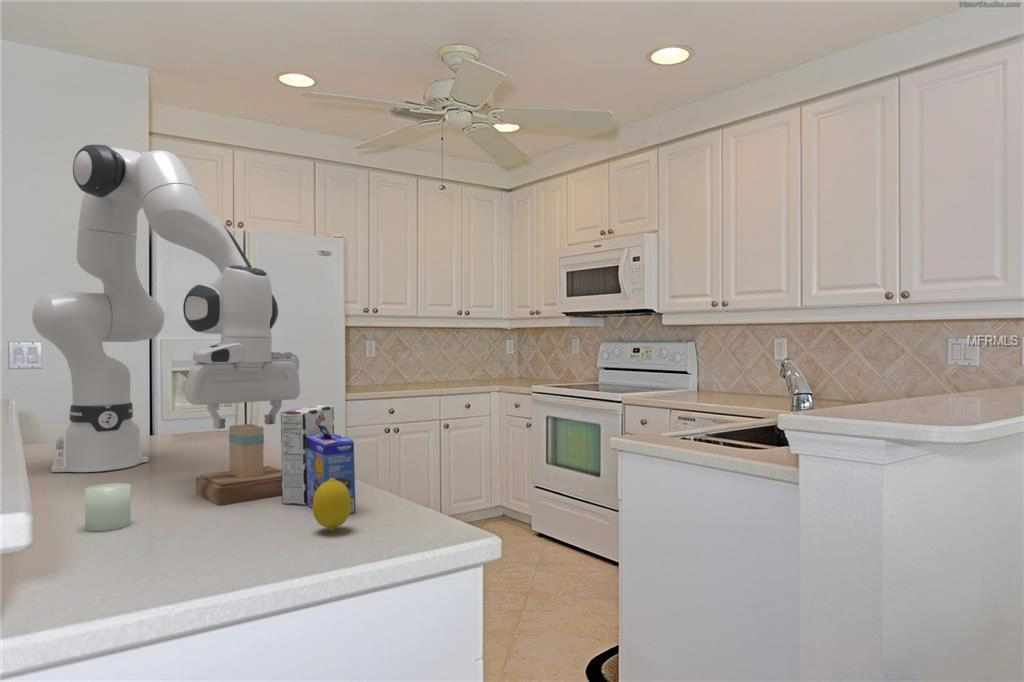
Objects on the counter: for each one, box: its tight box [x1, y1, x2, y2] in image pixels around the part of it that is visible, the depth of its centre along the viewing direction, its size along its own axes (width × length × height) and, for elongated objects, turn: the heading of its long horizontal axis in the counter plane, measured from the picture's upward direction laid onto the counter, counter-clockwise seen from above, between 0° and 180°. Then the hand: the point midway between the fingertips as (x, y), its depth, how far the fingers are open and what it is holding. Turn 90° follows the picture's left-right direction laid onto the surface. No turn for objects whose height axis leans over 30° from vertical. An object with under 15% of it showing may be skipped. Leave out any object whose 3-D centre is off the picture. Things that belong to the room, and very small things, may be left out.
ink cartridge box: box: [306, 424, 357, 514], centre depth 112 cm, size 10×6×14 cm, turn 35°
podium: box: [195, 465, 282, 506], centre depth 123 cm, size 12×14×4 cm
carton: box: [228, 423, 265, 479], centre depth 123 cm, size 6×4×9 cm
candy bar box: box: [280, 404, 335, 506], centre depth 120 cm, size 11×5×16 cm, turn 168°
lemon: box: [312, 478, 351, 532], centre depth 99 cm, size 6×6×8 cm
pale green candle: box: [84, 482, 132, 532], centre depth 101 cm, size 6×6×6 cm
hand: (245, 426), depth 123 cm, fingers open, 8 cm apart
